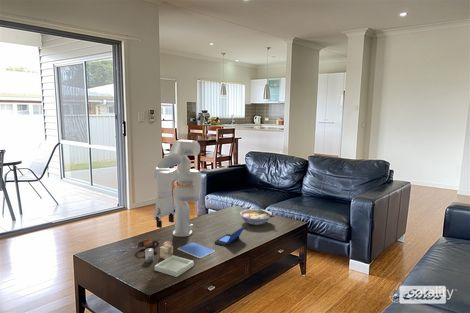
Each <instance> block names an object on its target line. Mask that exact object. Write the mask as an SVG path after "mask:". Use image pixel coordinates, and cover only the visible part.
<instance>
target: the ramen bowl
mask: <svg viewBox="0 0 470 313" xmlns="http://www.w3.org/2000/svg"><path fill="white" fill-rule="evenodd" d="M239 215H240V216H241V218H242V219H243V221H244V222H246V223H247V224H250V225H252V226H260V225H263V224H265V223H267V222H268V221H269V220H270V219H271V218H275V216H274V215H273V213H272V212H271V211H269V210H266V209H262V208H261V209H260V208H258V207H255V208H249V209H248V208H247V209H243V210H242V211H240V213H239Z"/></svg>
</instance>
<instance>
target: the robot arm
mask: <svg viewBox="0 0 470 313" xmlns="http://www.w3.org/2000/svg"><path fill="white" fill-rule="evenodd" d="M200 152H201V145H200V143H199V142H198V141H195V140H192V139H191V140H189V139H177V140H175V141H173V143H172V145H171V148H170V150H169V153H168V155H166V156H164V157H163V158H161V159H160V160H158V161H157V162H156V165H155V167H154V170H153V172H152V177H153V180H154V181H155V182H156V183H157V185H156V186H157V189H156V191H157V197H156V200H155V208H154V210H155V211H154V212H153V214H152V216H153V218H154V219H155V221H156V228H159V229H162V227H163V222H162V218H163V217H165V216H167V215H168V222H169V223H172V224H174V230H173V231H172V235H173V236H174V237H177V238H182V237H183V238H184V237H189V236H191V235H192V234H193V230H192V228H193V227H194V224H193V223H191V221H190V218H191V216H190V206H189V203H188V202H198V201H199V200H201V199H200V198H201V193H202V192H201V189H202V173H201V171H200V170H198V169H191V167H192V162H191V159H190V158H189V157H188V156H198V155H200V154H201V153H200ZM174 166H177V168H171V167H174ZM175 182H177V183H178V184H179V185H178V186H175V187H174V188H173V186H172V185H173V184H172V183H175ZM180 184H181V185H180ZM187 185H193V186H187ZM172 188H173V189H172Z"/></svg>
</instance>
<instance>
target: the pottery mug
mask: <svg viewBox="0 0 470 313" xmlns="http://www.w3.org/2000/svg"><path fill="white" fill-rule="evenodd" d="M159 245H160V242H159V241H158V240H151V238H147V239H145V240H142V241H140V242H138V243H137V248H145V249H148V248H153V249H154V251H155V250H156V249H157V248H158V247H160V246H159ZM143 253H144V254H145V250H144V251H143Z"/></svg>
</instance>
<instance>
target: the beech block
mask: <svg viewBox="0 0 470 313" xmlns="http://www.w3.org/2000/svg"><path fill="white" fill-rule="evenodd" d="M172 255H174V245H173V244H172V245H168V244H165V245H163V244H162V246H159V257H160V259H164V260H165V259H167V258H169V257H170V256H172Z"/></svg>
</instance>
